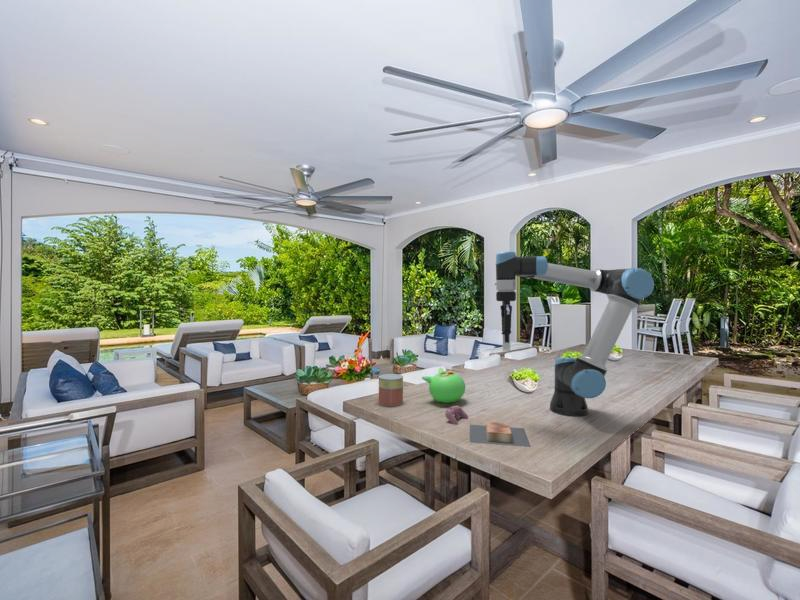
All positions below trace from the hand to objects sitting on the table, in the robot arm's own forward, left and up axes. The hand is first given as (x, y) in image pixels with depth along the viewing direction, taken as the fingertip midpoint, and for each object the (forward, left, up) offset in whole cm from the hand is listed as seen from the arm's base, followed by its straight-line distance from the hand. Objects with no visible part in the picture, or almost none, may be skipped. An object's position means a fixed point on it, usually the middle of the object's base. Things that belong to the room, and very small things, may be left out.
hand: (506, 350), depth 155 cm
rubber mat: (+4, +18, -28) cm, 34 cm away
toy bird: (+25, -21, -29) cm, 43 cm away
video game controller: (+19, +5, -29) cm, 35 cm away
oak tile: (+4, +14, -26) cm, 30 cm away
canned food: (+50, -15, -29) cm, 59 cm away
